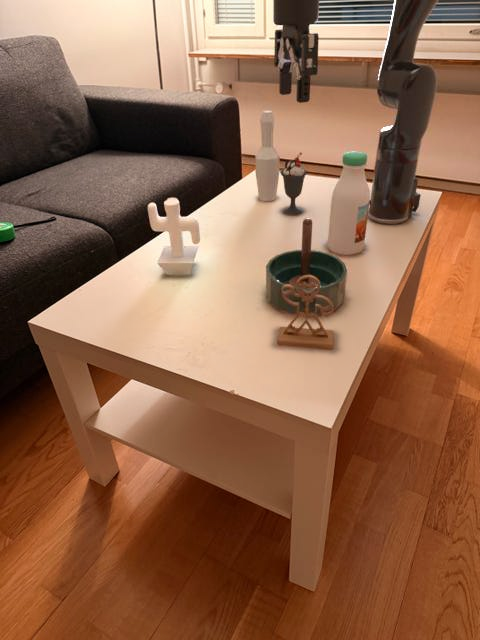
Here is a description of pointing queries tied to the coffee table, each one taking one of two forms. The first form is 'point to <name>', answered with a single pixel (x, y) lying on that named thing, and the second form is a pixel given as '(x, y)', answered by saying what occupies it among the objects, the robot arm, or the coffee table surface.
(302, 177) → the sundae
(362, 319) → the coffee table surface
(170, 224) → the figurine
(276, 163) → the low poly bottle
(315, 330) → the gingerbread man figurine
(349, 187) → the milk bottle
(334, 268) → the bowl
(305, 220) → the wooden peg stand
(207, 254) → the coffee table surface
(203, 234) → the coffee table surface
